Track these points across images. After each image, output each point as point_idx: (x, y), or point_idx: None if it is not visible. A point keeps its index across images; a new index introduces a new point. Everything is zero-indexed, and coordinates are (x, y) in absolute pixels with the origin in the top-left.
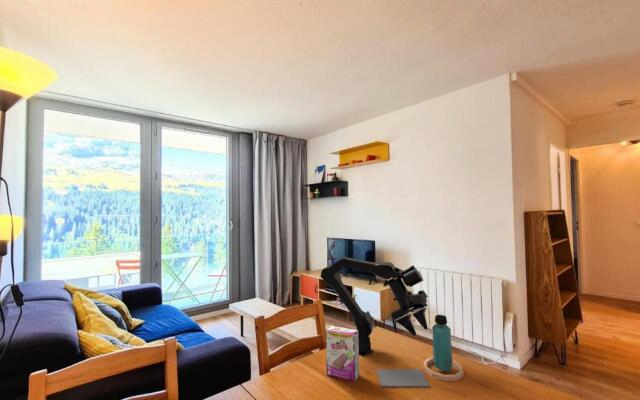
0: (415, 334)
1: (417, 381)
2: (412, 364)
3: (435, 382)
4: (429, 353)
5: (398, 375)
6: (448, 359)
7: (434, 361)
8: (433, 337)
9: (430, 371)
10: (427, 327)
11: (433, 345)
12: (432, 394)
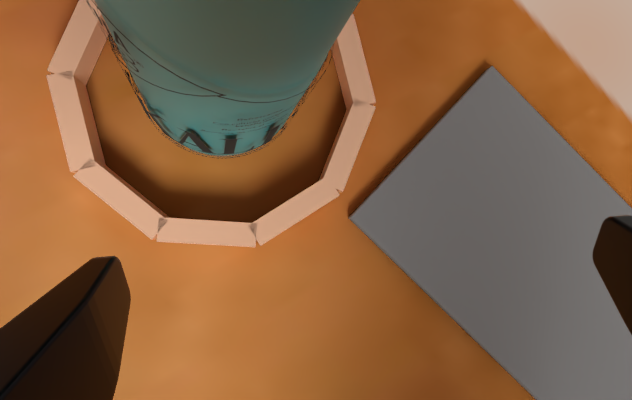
0: (629, 223)
1: (507, 150)
2: (314, 316)
3: (408, 67)
4: None
5: (542, 287)
6: None
7: (285, 120)
8: (352, 12)
9: (365, 124)
10: (92, 263)
11: (315, 73)
12: (538, 22)
